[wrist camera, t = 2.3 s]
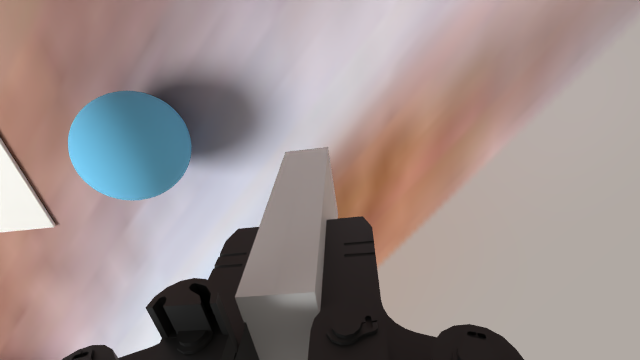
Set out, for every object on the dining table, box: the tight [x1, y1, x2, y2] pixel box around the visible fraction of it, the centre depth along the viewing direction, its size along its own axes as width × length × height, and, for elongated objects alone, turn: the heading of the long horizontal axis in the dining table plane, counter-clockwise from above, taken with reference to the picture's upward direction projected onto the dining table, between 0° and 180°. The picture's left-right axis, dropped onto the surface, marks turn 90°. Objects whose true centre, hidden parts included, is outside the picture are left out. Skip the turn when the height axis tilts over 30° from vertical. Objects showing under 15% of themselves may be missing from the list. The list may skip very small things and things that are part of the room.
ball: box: [68, 91, 191, 200], centre depth 18 cm, size 6×6×6 cm
